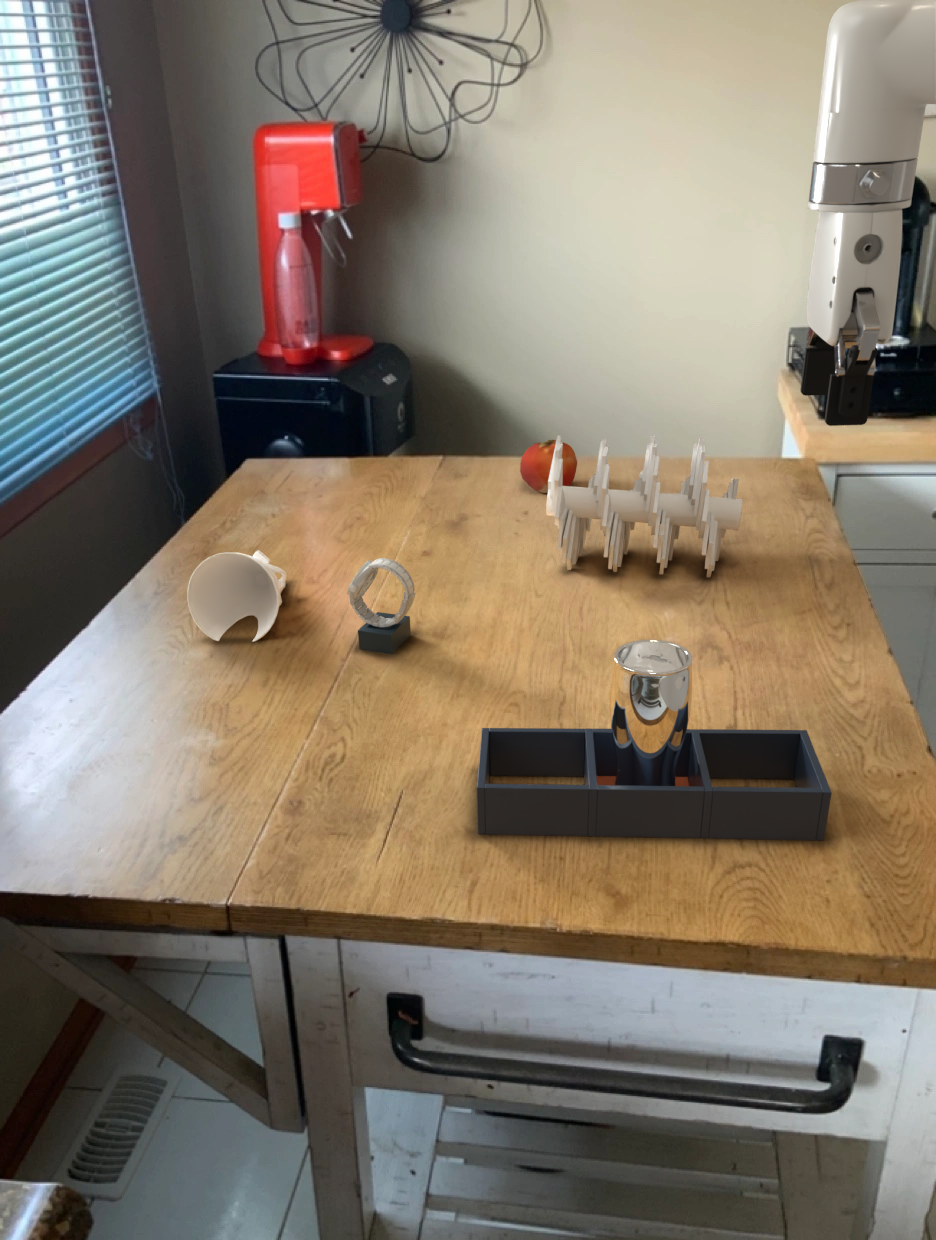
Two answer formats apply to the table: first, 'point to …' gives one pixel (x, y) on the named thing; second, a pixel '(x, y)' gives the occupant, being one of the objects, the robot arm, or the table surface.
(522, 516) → the table surface
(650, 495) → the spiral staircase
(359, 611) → the watch
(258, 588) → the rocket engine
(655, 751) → the beer glass
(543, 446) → the tomato
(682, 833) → the compartment tray
